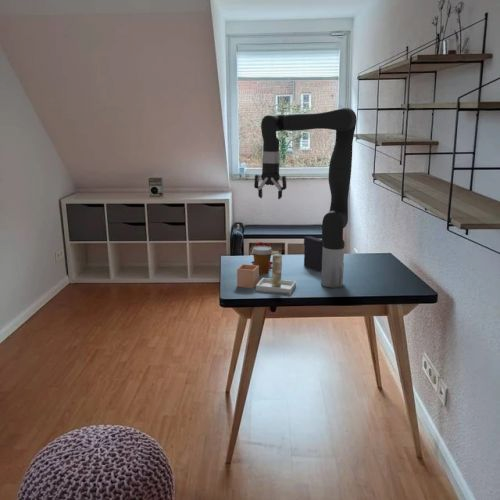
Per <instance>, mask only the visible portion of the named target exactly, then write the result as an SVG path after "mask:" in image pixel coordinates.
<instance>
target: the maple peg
mask: <svg viewBox="0 0 500 500" xmlns="http://www.w3.org/2000/svg"><path fill="white" fill-rule="evenodd" d="M271 260H272V261H271V262H272V264H271V265H272V269H271V279H272V287H279V288H281V280H282V265H283V255H282V254H280V253H279V254H278V253H277V254H276V253H275V254H272V259H271Z"/></svg>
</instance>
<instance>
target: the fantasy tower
mask: <svg viewBox="0 0 500 500" xmlns="http://www.w3.org/2000/svg"><path fill="white" fill-rule="evenodd" d="M255 246H269V247H271V245H270V244H269V243H267V242H265V244H264V245H263V242H261V241H259V242H258V243H256V244H255V245H254V246H253V247H255ZM271 249H272V250H273V248H272V247H271ZM250 263H251V265H254V260H253V261H251V262H250ZM269 270H272V261H270V266H269Z"/></svg>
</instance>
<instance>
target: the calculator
mask: <svg viewBox="0 0 500 500" xmlns="http://www.w3.org/2000/svg"><path fill="white" fill-rule="evenodd" d="M303 246H304V252H303V253H304V254H303V256H304V257H303V266H304V267H306V268H309V269H312V270H313V271H317V272H322V255H323V241H322V238H321V239H320V238H319V237H314V236H310V235H308V236H304V237H303Z"/></svg>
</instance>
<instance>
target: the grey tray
mask: <svg viewBox="0 0 500 500" xmlns="http://www.w3.org/2000/svg"><path fill="white" fill-rule="evenodd" d="M296 287H297V281H296V280H289V279H288V280H287V279H281V288H279V287H272V278H270V277H268V278H267V277H262V278H261V279H259V282H258V284H257V285H256V286H255V291H256V292H263V293H271V294H278V295H279V294H280V295H288V296H290V295H291V294H292V293H293V291H294V290H295V288H296Z"/></svg>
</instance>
